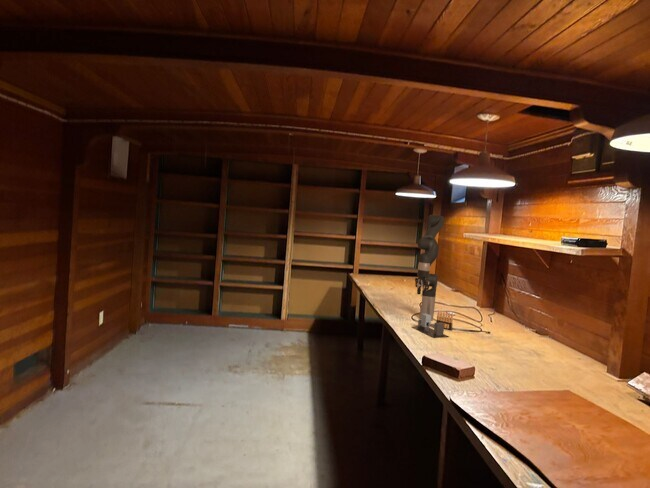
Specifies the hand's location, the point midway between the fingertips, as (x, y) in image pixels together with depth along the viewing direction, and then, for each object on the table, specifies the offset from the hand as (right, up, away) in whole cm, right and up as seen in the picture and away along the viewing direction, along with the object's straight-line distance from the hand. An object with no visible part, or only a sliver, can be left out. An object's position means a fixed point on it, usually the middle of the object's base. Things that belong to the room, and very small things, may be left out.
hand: (421, 294), depth 265 cm
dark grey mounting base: (+3, -22, -10) cm, 25 cm away
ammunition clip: (+15, -23, +2) cm, 28 cm away
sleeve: (+1, -19, -6) cm, 20 cm away
